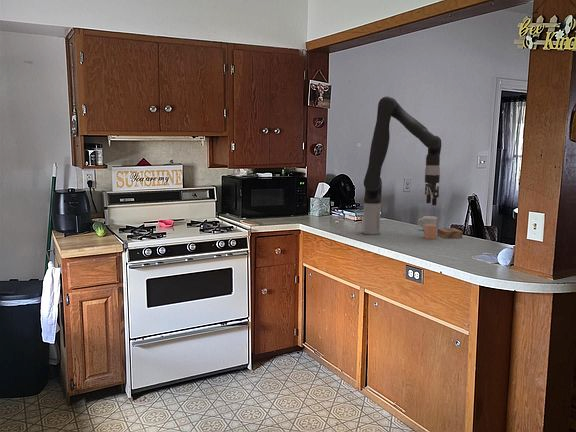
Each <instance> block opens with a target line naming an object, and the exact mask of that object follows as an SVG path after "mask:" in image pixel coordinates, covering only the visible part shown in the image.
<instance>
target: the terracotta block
mask: <svg viewBox="0 0 576 432" xmlns="http://www.w3.org/2000/svg"><path fill="white" fill-rule="evenodd" d="M437 229H438V228H437V224H436V225H434V224H424V229H423V238H425V239H426V240H437Z"/></svg>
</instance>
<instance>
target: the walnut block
mask: <svg viewBox="0 0 576 432" xmlns="http://www.w3.org/2000/svg"><path fill="white" fill-rule="evenodd" d="M463 233H464V232H463V231H462V230H459V229H457V228H454V227H453V228H452V227H451V228H437V229H436V236H437V237H440V238H442V239H446V238H447V239H463Z"/></svg>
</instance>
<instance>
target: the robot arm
mask: <svg viewBox="0 0 576 432" xmlns="http://www.w3.org/2000/svg"><path fill="white" fill-rule="evenodd" d="M376 111H377V114H376V121H375V126H374V131H373V135H372V139H371V144H370V150H369V158H368V165H367V169H366V173H365V177H364V179H363V187H364V188H365V189H364V197H363V215H362V226H361V227H362V228H361V229H362V231H361V232H362V233H363V234H364V235H380V233H381V205H382V203H381V199H382V189H383V182H382V181H383V180H382V178H381V173H382V168H383V164H384V163H385V160H386V156H387V154H388V148H389V145H390V137H391V136H390V133H391V132H390V122H391V119H392V118H393V119H395V120H396V121H398V122H399V123H400V124H401V125H402V126H403V127H404V128H405V129H406V130H407V131H408V132H409V133H410V134H411V135H413V136H414V137H415V138H416V139H418V140H419V141H420V142H421V144H423V145H424V146H425V147H426V148H427V154H426V156H425V157H426V158H425V169H424V183H425V186H424V195H425V196H426V202H425V203H426V204H431V206H437V200H438V198H439V197H440V195H439V193H440V190H439V189H440V186H439V185H437V184H439V183H440V178H441V168H440V163H441V150H442V139H441V137H439V136H438V135H434V134H433V133H432V132H431V131H429V130H428V128H427V127H426V126H425V125H423V124H422V123H421V121H418V119H416V118H415V117H413V116H412V115H410V114H409V113H408V112H407V111H406V110H405V109H404V108H403V107H402V106H401V104H399V103H398V102H397V100H396V99H395V98H394V97H391V96H383V97H382V98H380V100H379V101H378V104H377V110H376Z"/></svg>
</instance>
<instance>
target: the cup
mask: <svg viewBox="0 0 576 432" xmlns="http://www.w3.org/2000/svg"><path fill="white" fill-rule="evenodd" d="M437 220H438V216H433V215H429V216H428V215H427V216H426V215H425V216H422V218H421V217H420V218H419V219H418V220H417V225H418V226H419V227H423V230H424V224H434V225H436V226H437ZM420 221H422V224H420Z"/></svg>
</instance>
